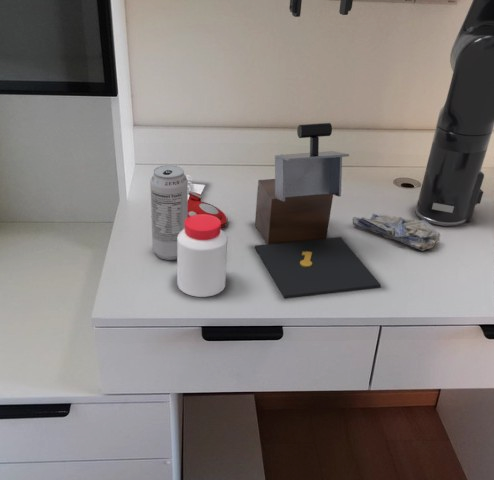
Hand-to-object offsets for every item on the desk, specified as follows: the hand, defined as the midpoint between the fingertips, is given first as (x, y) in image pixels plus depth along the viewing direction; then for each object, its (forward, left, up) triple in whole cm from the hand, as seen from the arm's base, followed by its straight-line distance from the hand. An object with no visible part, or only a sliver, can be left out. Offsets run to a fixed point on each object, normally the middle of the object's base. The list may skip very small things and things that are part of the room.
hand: (320, 15), depth 104 cm
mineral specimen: (-15, +15, -35) cm, 41 cm away
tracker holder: (+20, +8, -34) cm, 40 cm away
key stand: (+4, +14, -34) cm, 37 cm away
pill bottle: (+21, +31, -34) cm, 51 cm away
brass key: (+3, +25, -33) cm, 42 cm away
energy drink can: (+26, +21, -34) cm, 48 cm away
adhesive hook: (+23, -3, -34) cm, 41 cm away
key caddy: (+4, +16, -19) cm, 26 cm away
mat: (+2, +26, -34) cm, 43 cm away
